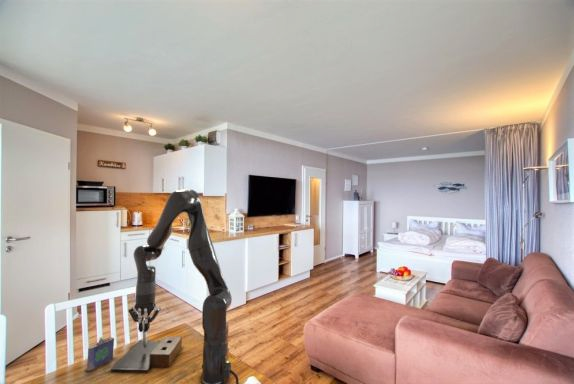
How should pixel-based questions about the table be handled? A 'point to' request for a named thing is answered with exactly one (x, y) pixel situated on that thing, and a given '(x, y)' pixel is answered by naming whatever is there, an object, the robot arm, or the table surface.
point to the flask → (100, 353)
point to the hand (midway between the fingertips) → (143, 331)
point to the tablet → (136, 358)
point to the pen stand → (165, 351)
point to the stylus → (144, 335)
